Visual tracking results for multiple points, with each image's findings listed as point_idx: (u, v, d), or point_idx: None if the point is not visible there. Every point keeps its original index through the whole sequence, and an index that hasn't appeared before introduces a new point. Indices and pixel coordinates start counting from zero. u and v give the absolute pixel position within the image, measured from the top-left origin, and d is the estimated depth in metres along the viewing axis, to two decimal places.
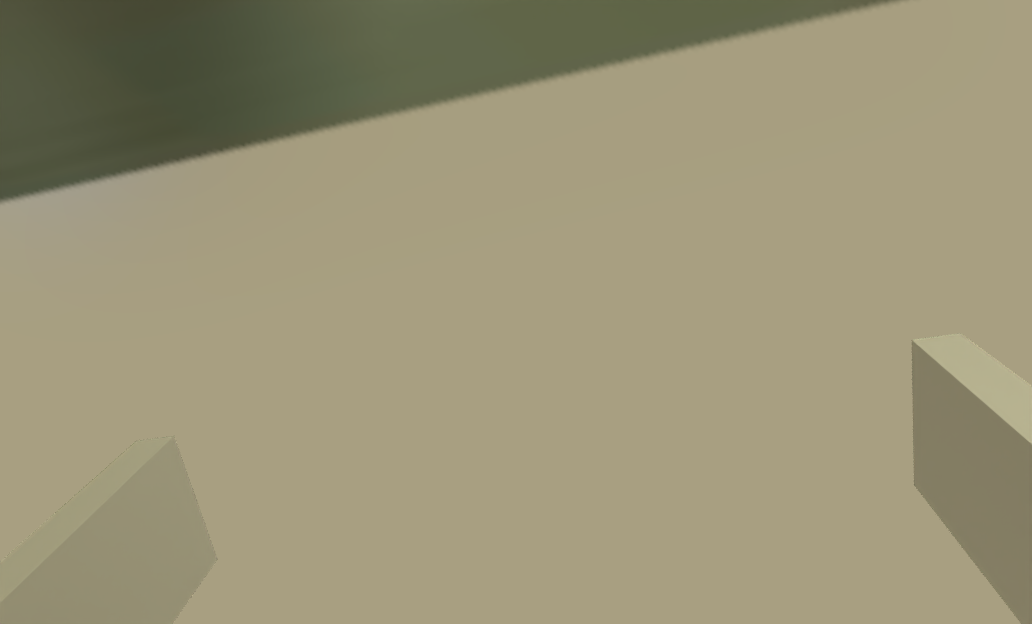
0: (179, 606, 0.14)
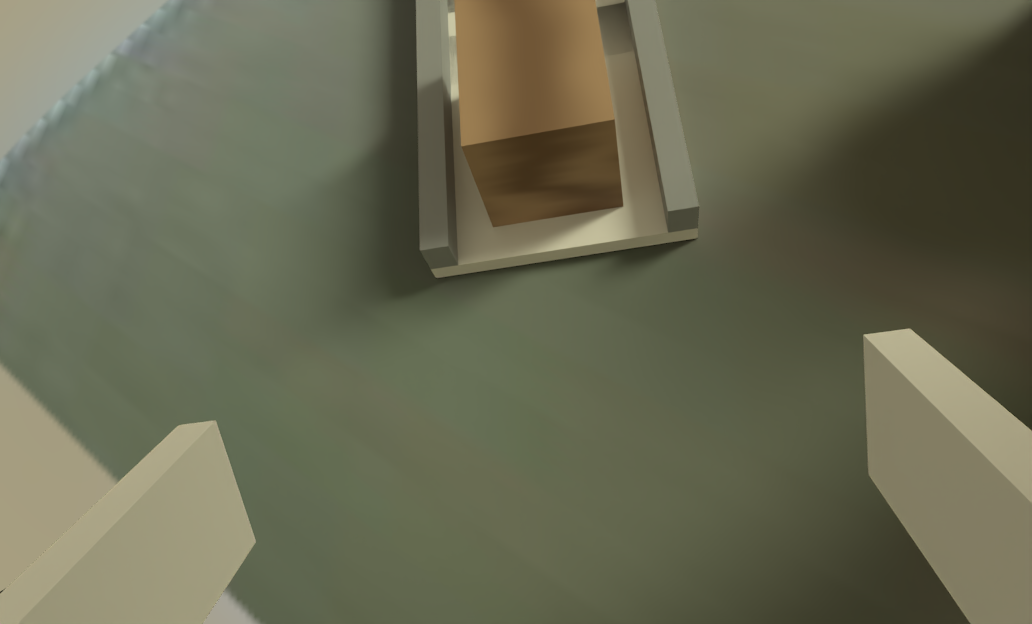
0: (222, 586, 0.14)
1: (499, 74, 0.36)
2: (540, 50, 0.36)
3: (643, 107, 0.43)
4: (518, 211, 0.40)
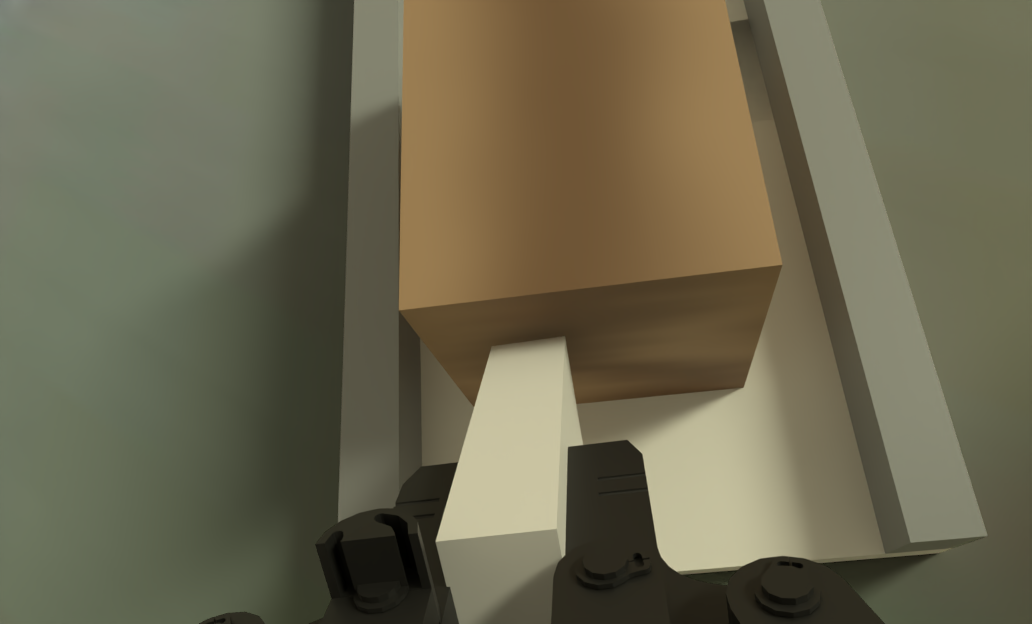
0: None
1: (496, 128, 0.16)
2: (592, 74, 0.16)
3: (803, 242, 0.21)
4: None
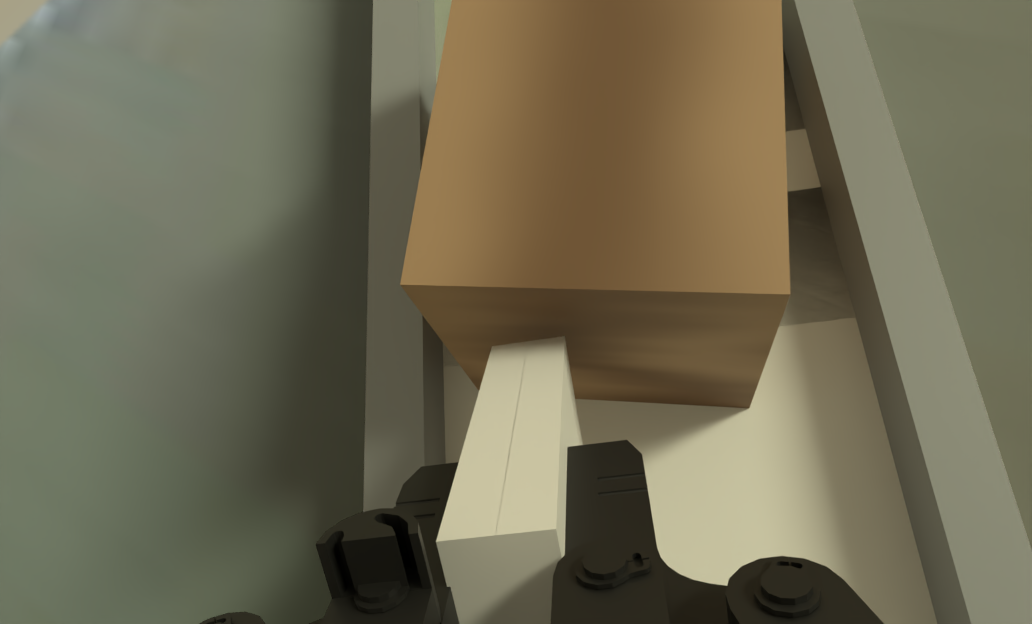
0: None
1: (526, 114, 0.15)
2: (632, 71, 0.15)
3: (896, 482, 0.18)
4: None
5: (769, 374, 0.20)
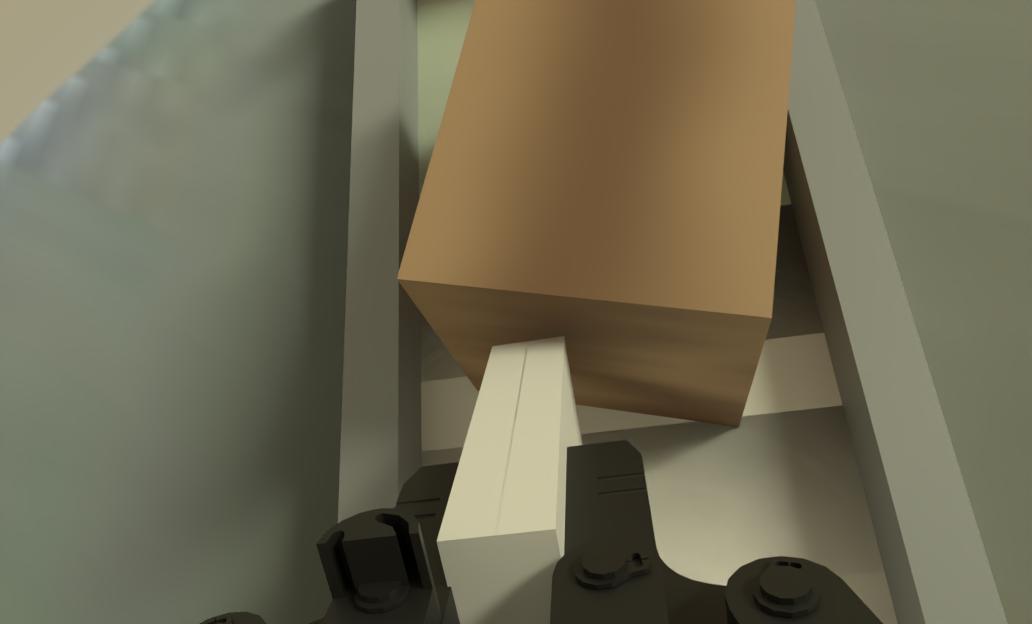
0: None
1: (534, 123, 0.16)
2: (640, 87, 0.16)
3: None
4: None
5: None
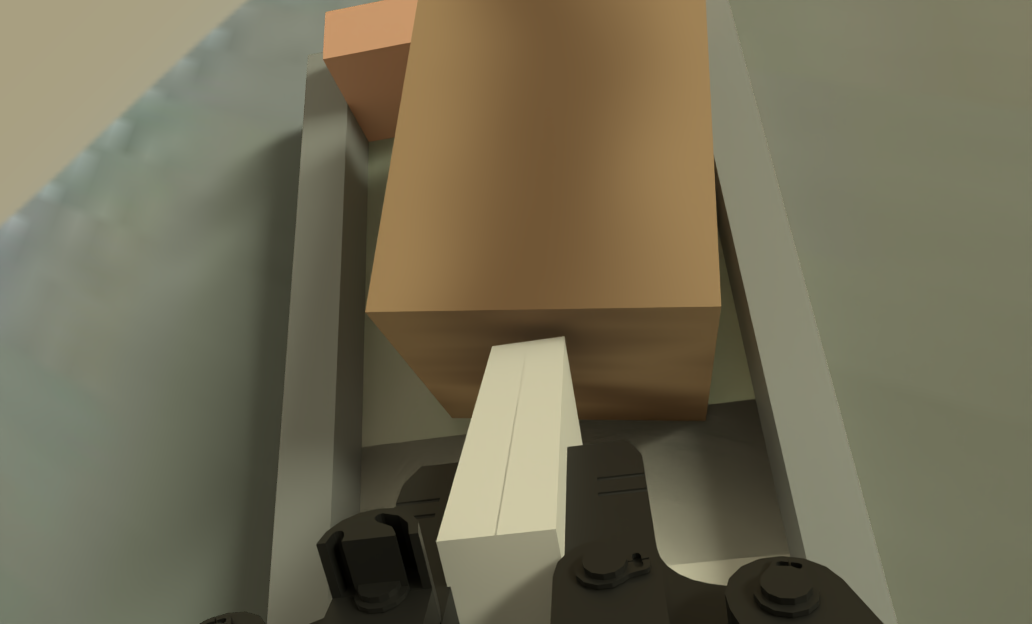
0: None
1: (479, 152, 0.17)
2: (574, 109, 0.17)
3: None
4: None
5: None
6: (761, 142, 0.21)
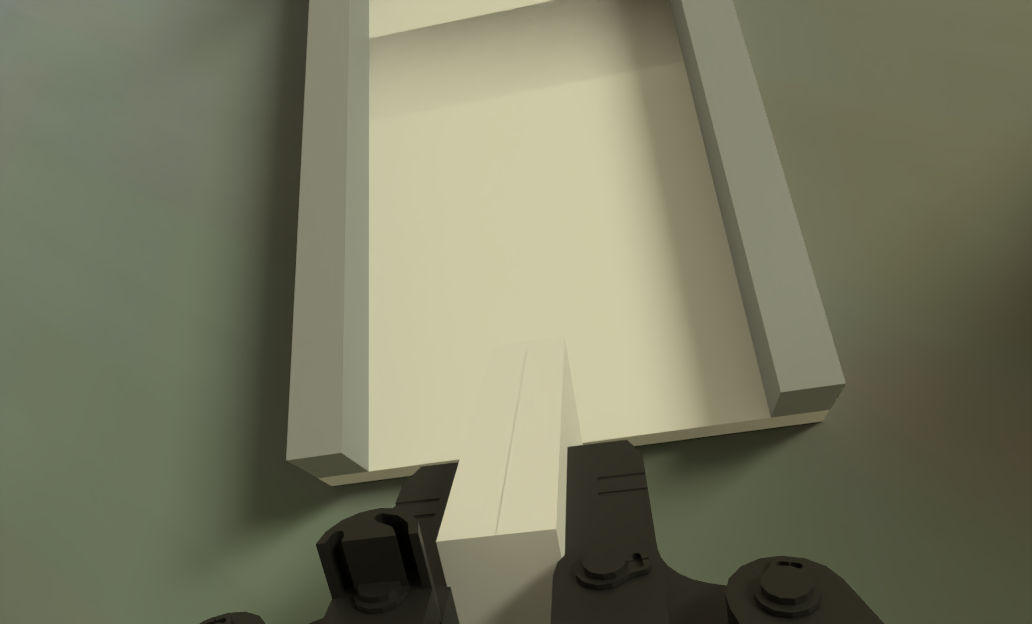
0: None
1: None
2: None
3: (706, 163, 0.24)
4: None
5: (617, 104, 0.25)
6: None
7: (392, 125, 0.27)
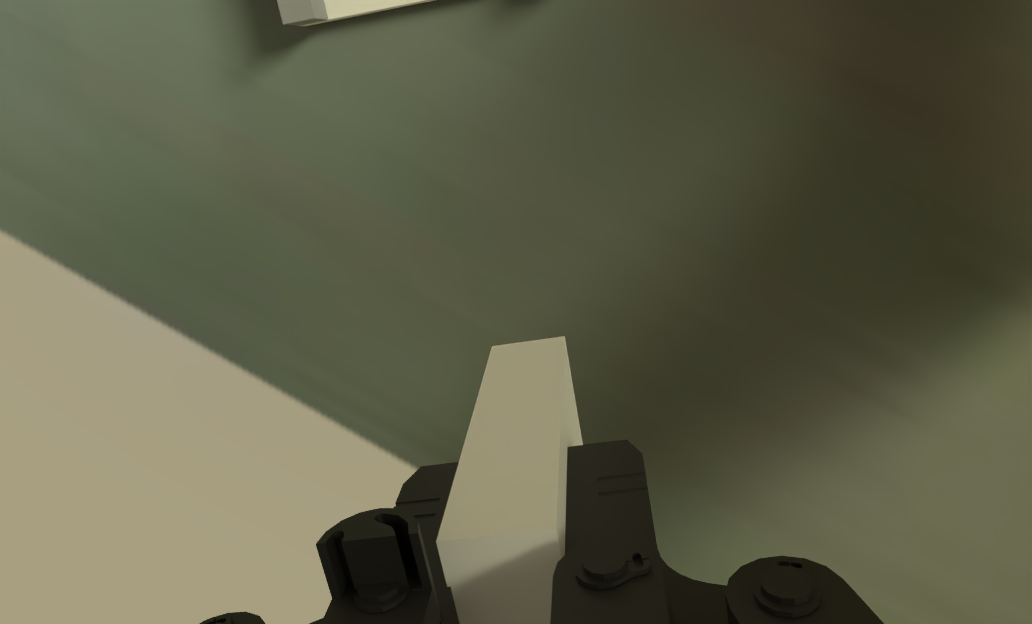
0: None
1: None
2: None
3: None
4: None
5: None
6: None
7: None
